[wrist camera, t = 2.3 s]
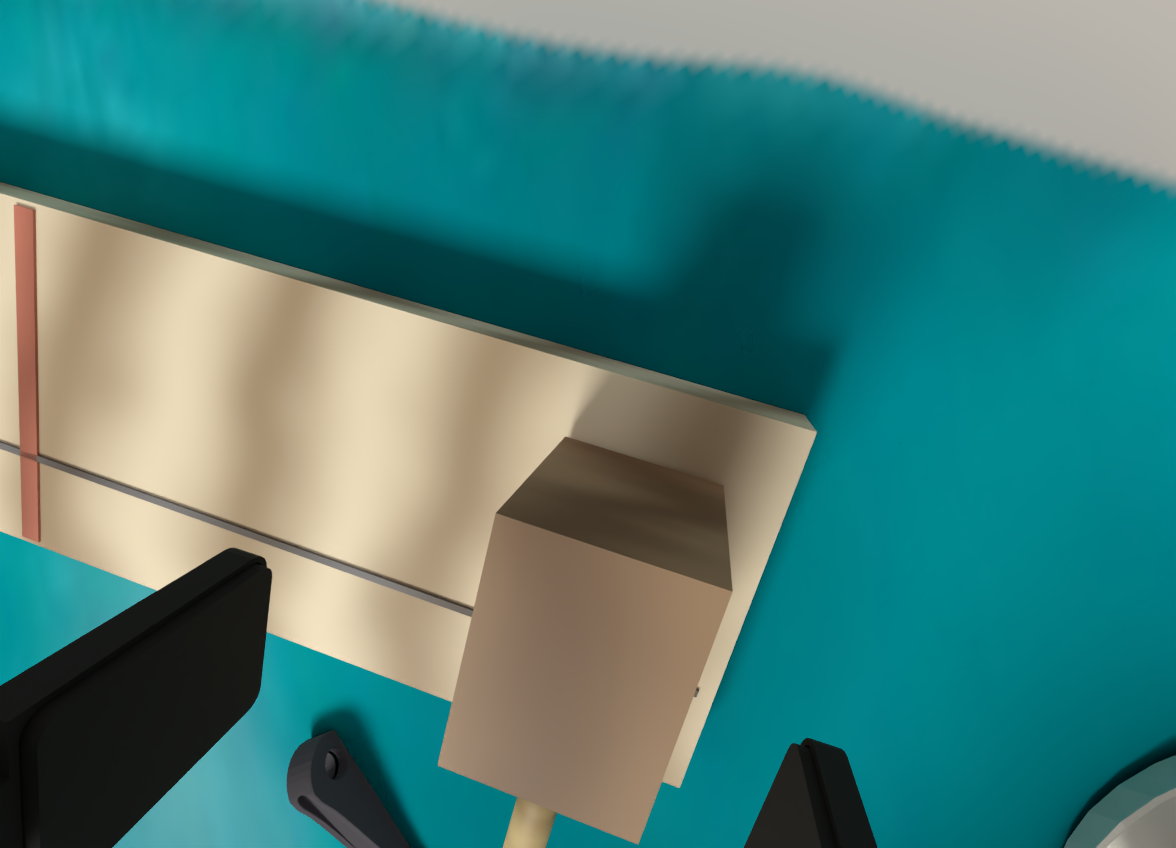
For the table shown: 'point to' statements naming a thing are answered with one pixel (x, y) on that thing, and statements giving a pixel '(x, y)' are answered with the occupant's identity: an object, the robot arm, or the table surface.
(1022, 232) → the table surface
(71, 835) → the robot arm
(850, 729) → the table surface
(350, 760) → the bracket
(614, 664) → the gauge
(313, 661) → the table surface
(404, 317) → the board
